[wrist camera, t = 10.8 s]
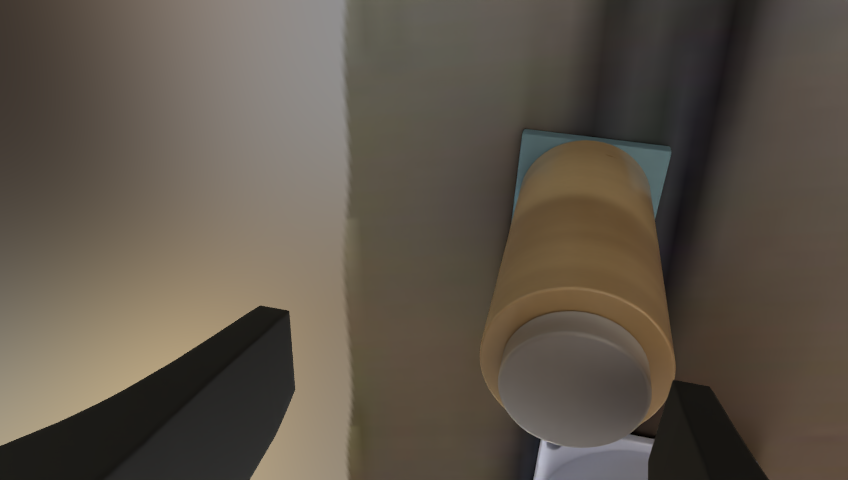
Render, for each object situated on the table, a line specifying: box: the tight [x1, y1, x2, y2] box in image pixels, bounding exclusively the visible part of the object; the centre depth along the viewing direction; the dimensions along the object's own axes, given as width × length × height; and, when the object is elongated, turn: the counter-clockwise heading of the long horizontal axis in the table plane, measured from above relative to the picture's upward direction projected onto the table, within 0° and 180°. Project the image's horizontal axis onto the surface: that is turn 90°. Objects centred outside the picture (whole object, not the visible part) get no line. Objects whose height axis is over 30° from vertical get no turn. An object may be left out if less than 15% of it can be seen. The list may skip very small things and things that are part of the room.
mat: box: [511, 129, 671, 223], centre depth 22 cm, size 9×4×1 cm, turn 177°
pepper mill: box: [480, 140, 676, 448], centre depth 17 cm, size 4×4×9 cm
